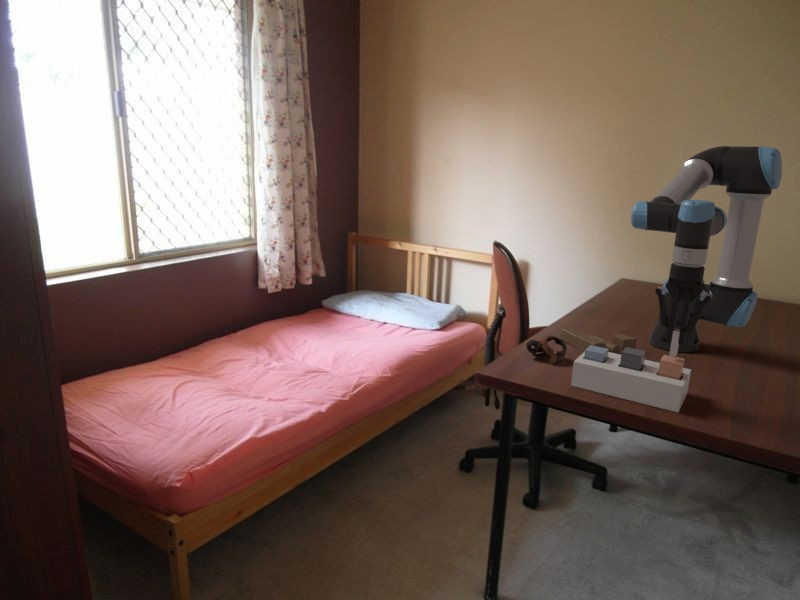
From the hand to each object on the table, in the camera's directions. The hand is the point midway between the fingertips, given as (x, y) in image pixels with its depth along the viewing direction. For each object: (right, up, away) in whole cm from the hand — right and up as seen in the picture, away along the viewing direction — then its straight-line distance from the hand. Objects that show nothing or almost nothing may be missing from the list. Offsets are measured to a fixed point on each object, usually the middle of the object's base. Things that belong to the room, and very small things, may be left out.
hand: (673, 354), depth 146 cm
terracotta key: (0, -6, +2) cm, 6 cm away
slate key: (-16, -5, +12) cm, 21 cm away
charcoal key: (-8, -5, +7) cm, 11 cm away
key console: (-8, -10, +8) cm, 16 cm away
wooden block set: (-5, -2, +43) cm, 43 cm away
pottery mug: (-26, -4, +30) cm, 39 cm away
